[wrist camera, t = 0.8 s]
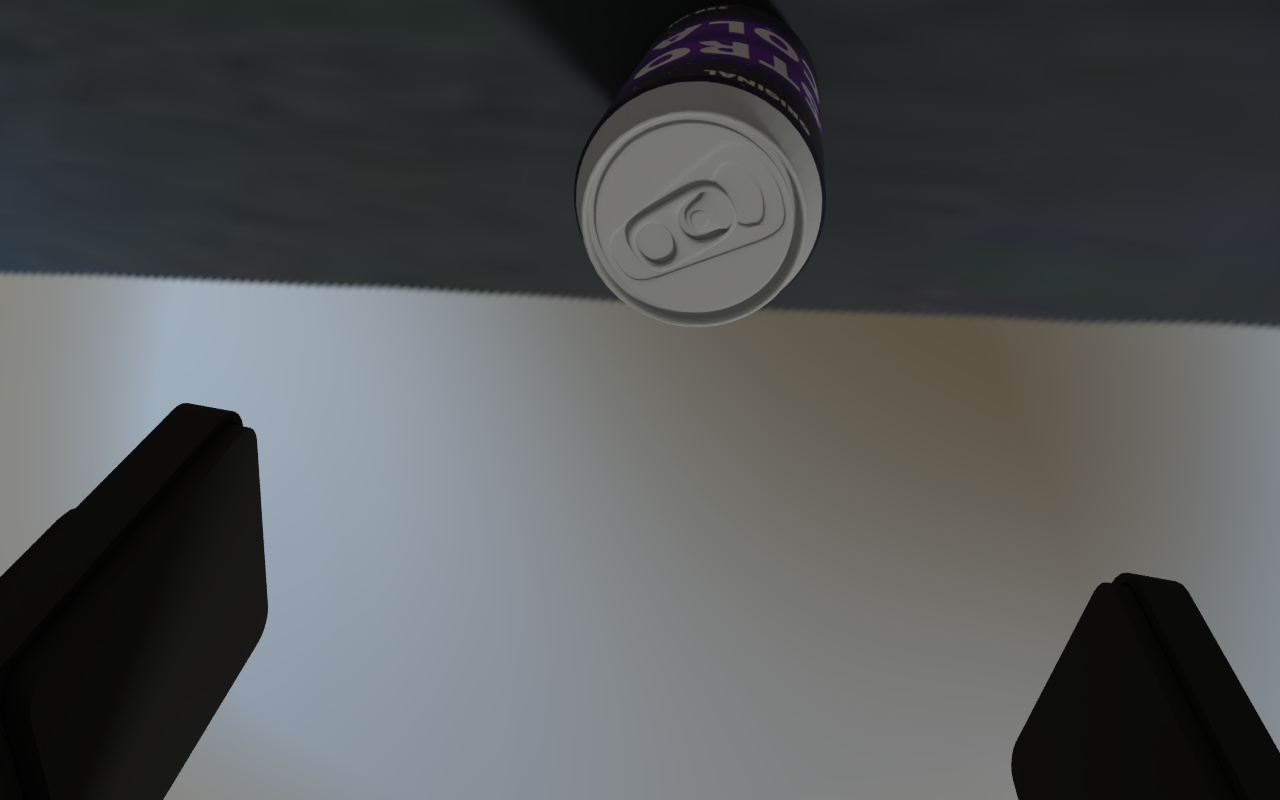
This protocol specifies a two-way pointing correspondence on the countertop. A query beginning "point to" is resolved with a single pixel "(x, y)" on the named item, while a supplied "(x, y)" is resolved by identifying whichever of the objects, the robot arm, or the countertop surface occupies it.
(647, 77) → the beverage can
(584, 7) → the countertop surface
